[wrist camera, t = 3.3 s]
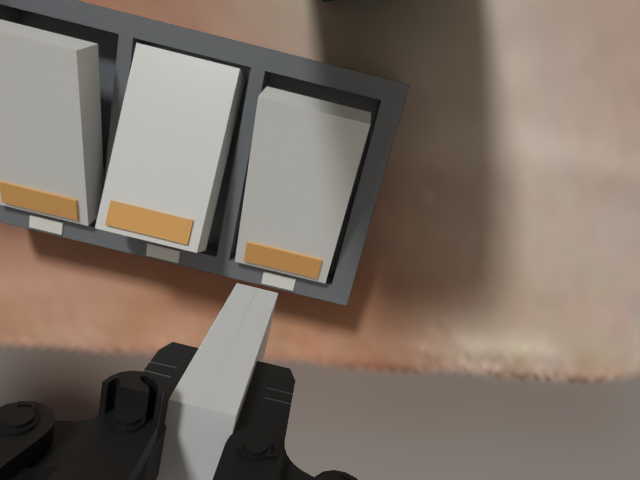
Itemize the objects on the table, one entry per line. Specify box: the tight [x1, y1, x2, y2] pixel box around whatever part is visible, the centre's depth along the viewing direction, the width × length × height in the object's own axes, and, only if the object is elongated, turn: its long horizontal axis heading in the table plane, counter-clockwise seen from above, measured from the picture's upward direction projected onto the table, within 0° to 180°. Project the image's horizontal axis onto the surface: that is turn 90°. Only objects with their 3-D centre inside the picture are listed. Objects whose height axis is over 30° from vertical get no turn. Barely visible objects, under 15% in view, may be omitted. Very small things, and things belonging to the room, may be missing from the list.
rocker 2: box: [95, 43, 246, 253], centre depth 23 cm, size 5×9×2 cm, turn 167°
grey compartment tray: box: [0, 0, 409, 306], centre depth 25 cm, size 27×12×4 cm, turn 77°
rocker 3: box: [235, 86, 371, 283], centre depth 23 cm, size 5×9×2 cm, turn 166°
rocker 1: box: [0, 19, 104, 226], centre depth 23 cm, size 5×9×2 cm, turn 166°
